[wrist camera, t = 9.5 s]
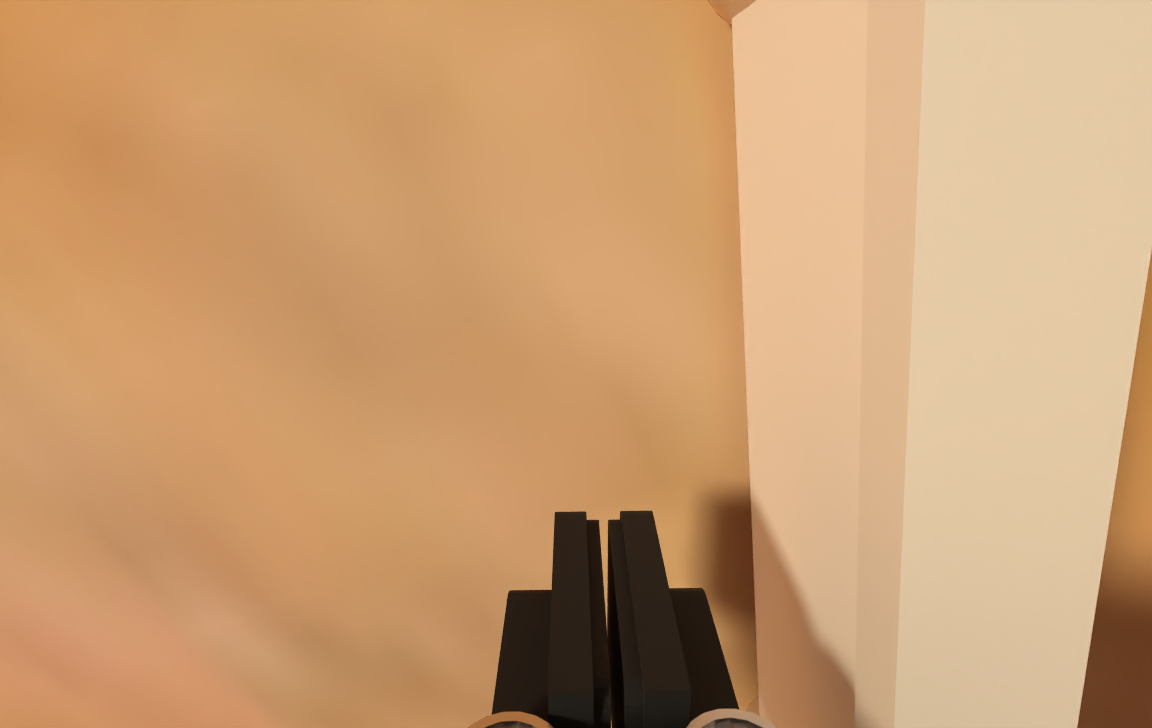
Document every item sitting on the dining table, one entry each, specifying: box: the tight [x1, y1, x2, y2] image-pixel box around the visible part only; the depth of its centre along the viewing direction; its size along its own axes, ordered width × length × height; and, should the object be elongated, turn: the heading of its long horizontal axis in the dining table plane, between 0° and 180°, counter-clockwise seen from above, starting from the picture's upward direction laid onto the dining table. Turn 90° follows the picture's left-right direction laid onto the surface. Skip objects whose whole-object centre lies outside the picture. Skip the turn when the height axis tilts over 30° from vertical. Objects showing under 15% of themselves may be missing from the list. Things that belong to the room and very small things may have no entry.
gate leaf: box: [708, 0, 1152, 728], centre depth 11 cm, size 2×19×8 cm, turn 7°
